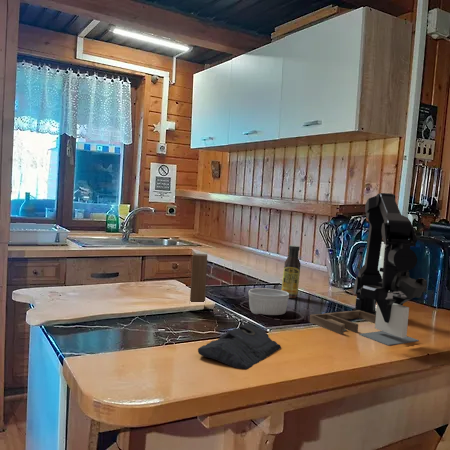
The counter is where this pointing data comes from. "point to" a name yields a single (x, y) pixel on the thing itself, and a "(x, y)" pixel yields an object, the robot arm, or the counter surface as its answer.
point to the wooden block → (198, 278)
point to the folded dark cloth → (241, 347)
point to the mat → (387, 338)
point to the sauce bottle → (291, 272)
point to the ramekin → (268, 301)
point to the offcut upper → (337, 322)
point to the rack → (341, 320)
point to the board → (394, 320)
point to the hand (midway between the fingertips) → (389, 322)
